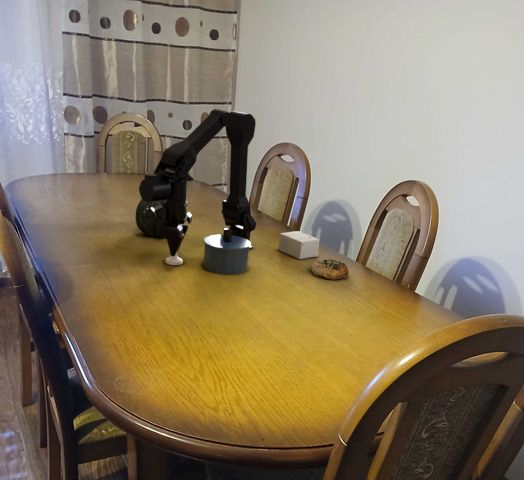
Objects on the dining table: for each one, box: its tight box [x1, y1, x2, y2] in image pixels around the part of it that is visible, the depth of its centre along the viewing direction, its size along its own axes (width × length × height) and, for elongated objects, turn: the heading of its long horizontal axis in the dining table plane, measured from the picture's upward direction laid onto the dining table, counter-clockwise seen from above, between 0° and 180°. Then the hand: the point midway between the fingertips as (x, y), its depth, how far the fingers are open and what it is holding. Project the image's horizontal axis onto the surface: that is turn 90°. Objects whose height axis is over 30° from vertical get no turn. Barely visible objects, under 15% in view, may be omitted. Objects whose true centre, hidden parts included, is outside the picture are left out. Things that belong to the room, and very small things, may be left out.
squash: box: [135, 198, 168, 238], centre depth 181 cm, size 14×15×15 cm
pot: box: [203, 243, 250, 275], centre depth 160 cm, size 12×12×7 cm
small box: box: [277, 230, 321, 260], centre depth 178 cm, size 8×6×10 cm
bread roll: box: [310, 258, 349, 281], centre depth 164 cm, size 11×11×5 cm
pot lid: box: [203, 227, 252, 250], centre depth 157 cm, size 13×13×5 cm
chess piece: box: [165, 252, 184, 266], centre depth 158 cm, size 5×5×10 cm
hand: (174, 253), depth 159 cm, fingers open, 4 cm apart
